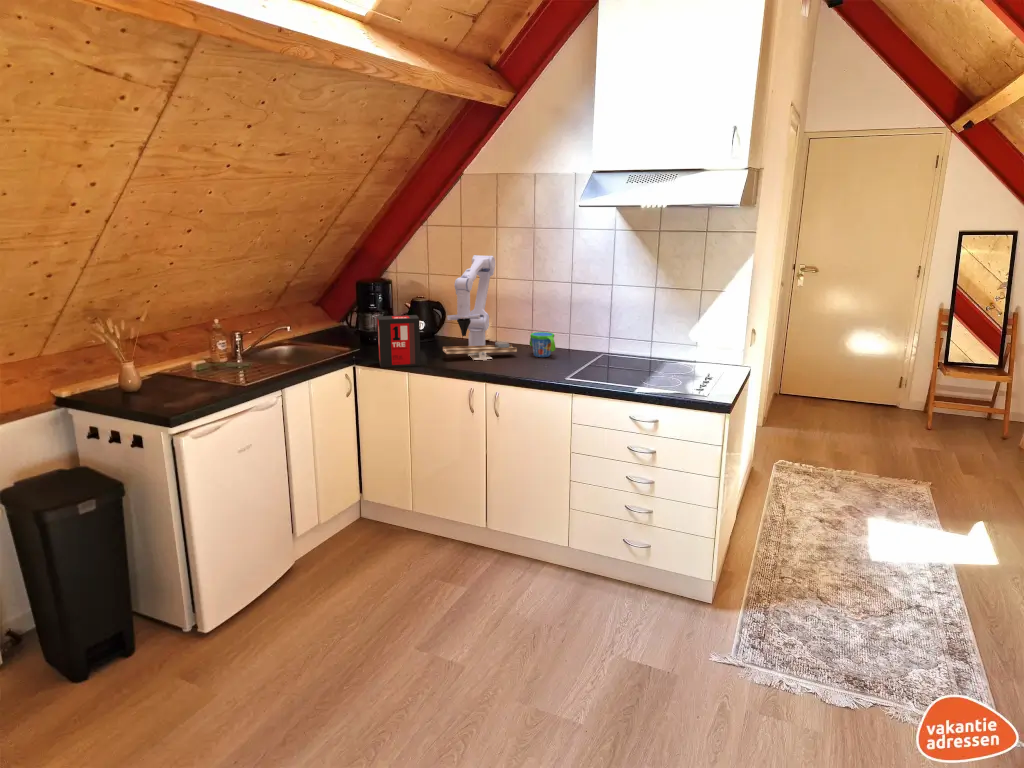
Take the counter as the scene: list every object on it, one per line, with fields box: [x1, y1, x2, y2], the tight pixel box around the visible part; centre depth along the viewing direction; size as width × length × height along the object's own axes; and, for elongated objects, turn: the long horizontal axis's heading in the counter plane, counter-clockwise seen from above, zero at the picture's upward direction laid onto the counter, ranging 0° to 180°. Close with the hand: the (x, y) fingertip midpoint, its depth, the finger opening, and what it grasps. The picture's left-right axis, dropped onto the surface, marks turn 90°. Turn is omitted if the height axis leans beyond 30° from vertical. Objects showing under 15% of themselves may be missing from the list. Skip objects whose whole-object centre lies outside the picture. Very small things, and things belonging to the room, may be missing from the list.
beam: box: [442, 344, 518, 355], centre depth 294 cm, size 32×7×2 cm, turn 109°
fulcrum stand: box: [467, 352, 493, 361], centre depth 295 cm, size 11×8×4 cm
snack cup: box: [529, 331, 556, 358], centre depth 299 cm, size 16×10×10 cm
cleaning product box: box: [376, 314, 421, 368], centre depth 280 cm, size 16×9×20 cm, turn 105°
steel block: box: [494, 341, 510, 348], centre depth 297 cm, size 5×5×2 cm
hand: (463, 335), depth 296 cm, fingers closed
